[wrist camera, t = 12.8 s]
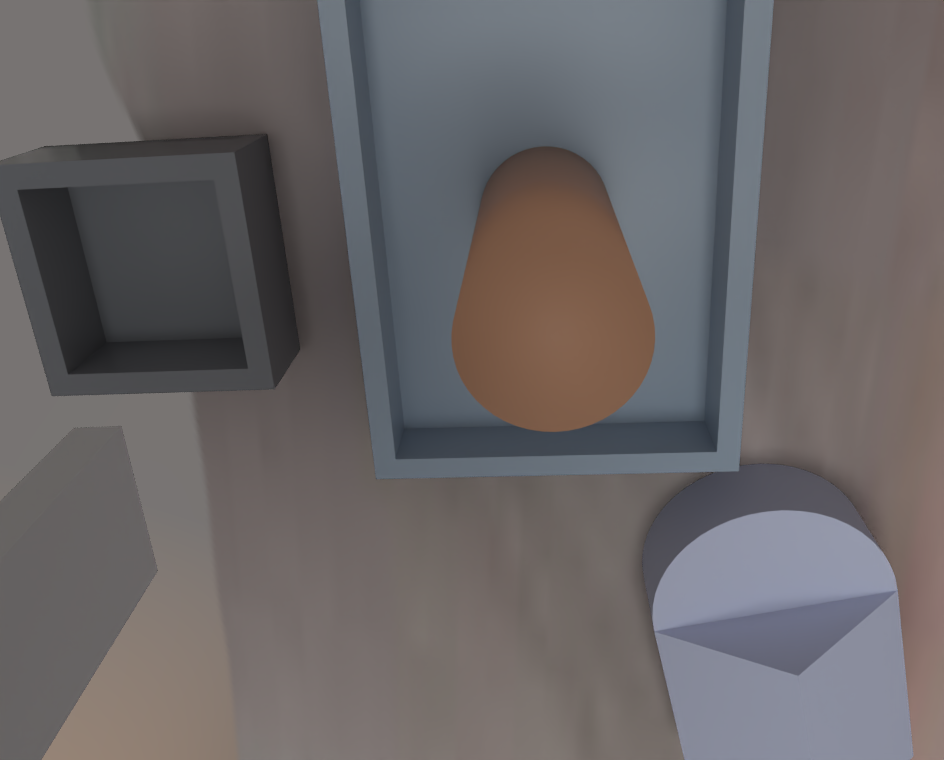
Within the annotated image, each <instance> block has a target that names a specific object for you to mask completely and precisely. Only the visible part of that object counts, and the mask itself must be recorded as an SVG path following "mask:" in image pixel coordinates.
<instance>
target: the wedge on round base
mask: <svg viewBox="0 0 944 760" xmlns="http://www.w3.org/2000/svg"><path fill="white" fill-rule="evenodd" d="M642 567H643V574H644V580H645V586H646V591H647V596H648V601H649V607H650V612H651V617H652V622H653V627H654V632H655V637H656V641H657V645H658V649H659V654H660V658H661V662H662V666H663V671H664V675H665V679H666V683H667V687H668V692H669V696H670V700H671V704H672V709H673V713H674V717H675V721H676V726H677V730H678V734H679V738H680V742H681V747H682V751H683V755H684V759H685V760H910V759H911V758H912V757H913V747H912V736H911V726H910V715H909V705H908V694H907V684H906V673H905V663H904V652H903V642H902V631H901V621H900V610H899V600H898V590H897V585H896V579H895V576H894V573H893V571H892V568H891V565H890V564H889V562H888V560H887V559H886V557H885V555H884V554H883V552H882V550H881V549H880V547H879V546H878V544H877V542H876V541H875V539H874V538H873V536H872V534H871V533H870V531H869V530H868V528H867V526H866V525H865V523H864V522H863V520H862V518H861V517H860V515H859V513H858V512H857V510H856V509H855V507H854V505H853V504H852V503H851V501H850V500H849V499H848V498H847V497H846V496H845V494H844V493H843V492H841V491H840V490H839V489H838V488H837V487H835V486H834V485H833V484H832V483H830V482H828V481H827V480H825V479H823V478H822V477H820V476H818V475H815V474H813V473H811V472H808V471H806V470H802V469H799V468H795V467H791V466H785V465H778V464H751V465H742V466H739V471H729V472H715V473H712V474H710V475H708V476H706V477H704V478H701V479H699V480H698V481H696V482H694V483H693V484H691V485H689V486H688V487H686V488H685V489H683V490H682V491H681V492H680V493H678V494H677V495H676V496H674V497H673V498H672V499H671V500H670V501H669V502H668V504H667V505H666V506H665V507H664V508H663V509H662V510H661V512H660V513H659V514H658V516H657V517H656V519H655V520H654V522H653V524H652V526H651V528H650V530H649V532H648V535H647V538H646V541H645V544H644V550H643V560H642Z"/></svg>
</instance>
